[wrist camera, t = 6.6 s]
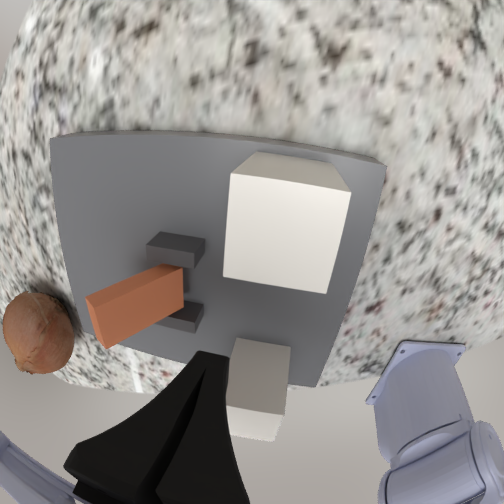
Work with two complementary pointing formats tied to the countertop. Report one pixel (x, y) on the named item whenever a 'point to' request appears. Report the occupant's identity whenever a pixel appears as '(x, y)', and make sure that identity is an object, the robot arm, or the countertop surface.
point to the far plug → (257, 389)
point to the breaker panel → (198, 239)
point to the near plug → (284, 221)
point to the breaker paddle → (135, 303)
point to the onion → (38, 332)
